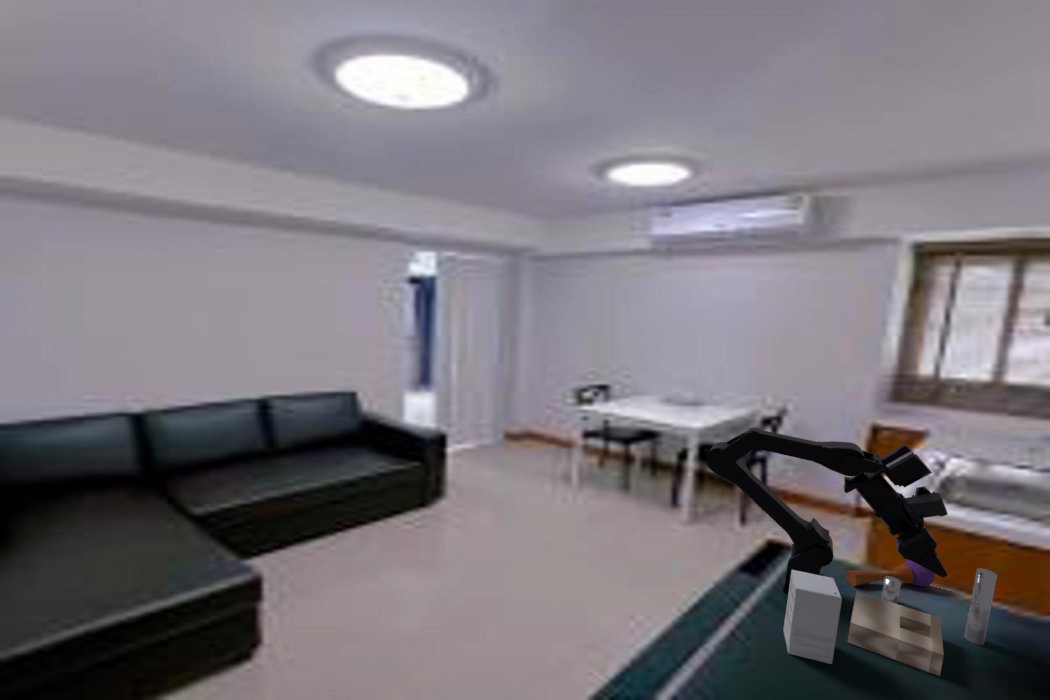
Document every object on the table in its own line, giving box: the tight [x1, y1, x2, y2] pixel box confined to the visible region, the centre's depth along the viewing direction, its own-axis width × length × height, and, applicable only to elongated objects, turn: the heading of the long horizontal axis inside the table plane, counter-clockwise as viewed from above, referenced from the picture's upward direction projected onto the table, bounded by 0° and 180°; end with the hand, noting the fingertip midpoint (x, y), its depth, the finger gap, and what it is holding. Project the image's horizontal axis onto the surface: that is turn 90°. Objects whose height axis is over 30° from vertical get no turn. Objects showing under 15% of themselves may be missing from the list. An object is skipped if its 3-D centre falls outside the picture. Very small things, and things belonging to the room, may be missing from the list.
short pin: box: [880, 576, 902, 605], centre depth 120 cm, size 3×3×5 cm
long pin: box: [963, 567, 998, 646], centre depth 108 cm, size 3×3×14 cm
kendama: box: [845, 560, 936, 588], centre depth 128 cm, size 6×6×20 cm
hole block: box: [847, 590, 944, 677], centre depth 106 cm, size 14×14×4 cm
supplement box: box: [782, 570, 843, 665], centre depth 102 cm, size 7×7×13 cm
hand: (940, 565), depth 110 cm, fingers open, 9 cm apart
